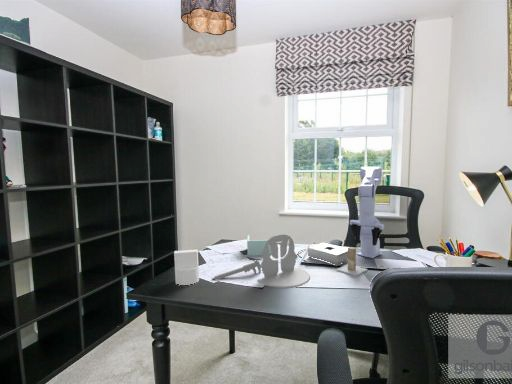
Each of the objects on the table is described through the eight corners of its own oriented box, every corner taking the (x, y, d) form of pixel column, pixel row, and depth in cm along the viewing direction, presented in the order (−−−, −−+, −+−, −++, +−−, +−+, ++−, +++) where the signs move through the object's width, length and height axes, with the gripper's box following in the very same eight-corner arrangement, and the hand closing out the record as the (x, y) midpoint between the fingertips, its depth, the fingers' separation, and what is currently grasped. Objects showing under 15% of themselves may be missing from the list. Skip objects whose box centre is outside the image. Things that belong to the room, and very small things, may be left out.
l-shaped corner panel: (271, 255, 138) (271, 240, 138) (247, 255, 138) (247, 240, 138) (270, 247, 150) (269, 234, 150) (248, 248, 150) (247, 234, 149)
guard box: (322, 252, 141) (322, 242, 140) (351, 259, 129) (351, 249, 128) (307, 257, 133) (307, 247, 132) (337, 266, 121) (337, 255, 120)
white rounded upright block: (174, 286, 104) (172, 255, 103) (177, 277, 113) (175, 248, 112) (198, 284, 105) (197, 254, 104) (199, 275, 114) (198, 247, 113)
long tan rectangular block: (350, 267, 117) (350, 247, 116) (355, 269, 115) (356, 248, 114) (347, 269, 116) (347, 248, 115) (352, 270, 114) (353, 249, 113)
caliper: (260, 272, 116) (259, 258, 116) (260, 273, 115) (260, 259, 115) (211, 280, 110) (210, 264, 110) (211, 281, 109) (211, 265, 108)
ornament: (299, 268, 120) (298, 230, 118) (321, 278, 108) (321, 236, 107) (256, 281, 108) (255, 238, 106) (277, 293, 97) (276, 246, 95)
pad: (347, 265, 122) (347, 263, 122) (367, 270, 115) (367, 269, 115) (336, 270, 116) (336, 269, 116) (356, 276, 109) (356, 275, 109)
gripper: (346, 211, 122) (345, 241, 123) (378, 215, 111) (378, 248, 112) (354, 209, 126) (354, 238, 128) (386, 213, 116) (385, 245, 117)
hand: (366, 243), depth 120 cm, fingers open, 7 cm apart
